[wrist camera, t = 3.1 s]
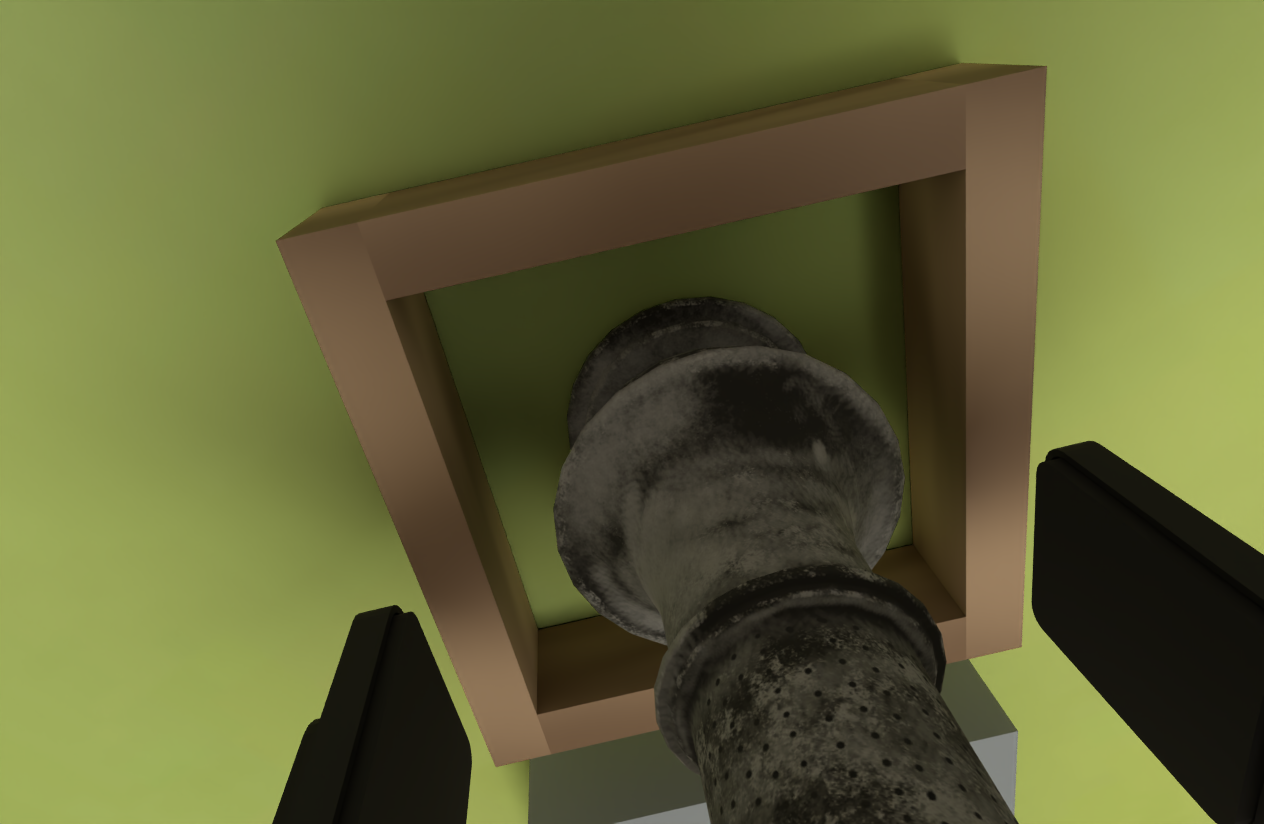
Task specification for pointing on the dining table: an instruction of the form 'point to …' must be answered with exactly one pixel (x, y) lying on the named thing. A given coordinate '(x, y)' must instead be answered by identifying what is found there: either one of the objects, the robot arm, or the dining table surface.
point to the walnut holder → (670, 205)
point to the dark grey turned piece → (762, 572)
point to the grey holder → (673, 795)
